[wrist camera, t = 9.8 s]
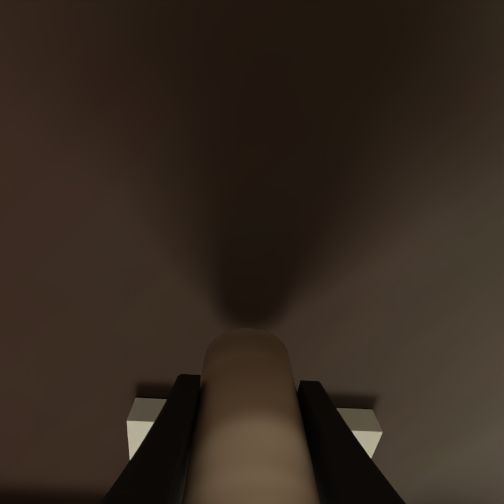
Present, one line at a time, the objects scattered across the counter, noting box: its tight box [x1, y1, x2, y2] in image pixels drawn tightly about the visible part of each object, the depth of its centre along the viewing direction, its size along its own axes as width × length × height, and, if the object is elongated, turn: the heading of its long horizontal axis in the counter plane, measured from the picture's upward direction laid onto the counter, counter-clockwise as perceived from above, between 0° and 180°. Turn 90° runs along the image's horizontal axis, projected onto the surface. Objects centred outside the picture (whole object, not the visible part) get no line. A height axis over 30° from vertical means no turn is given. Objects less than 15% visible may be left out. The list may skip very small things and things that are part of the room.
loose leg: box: [182, 328, 321, 504], centre depth 8 cm, size 3×3×7 cm
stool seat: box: [127, 398, 383, 460], centre depth 16 cm, size 13×12×1 cm
